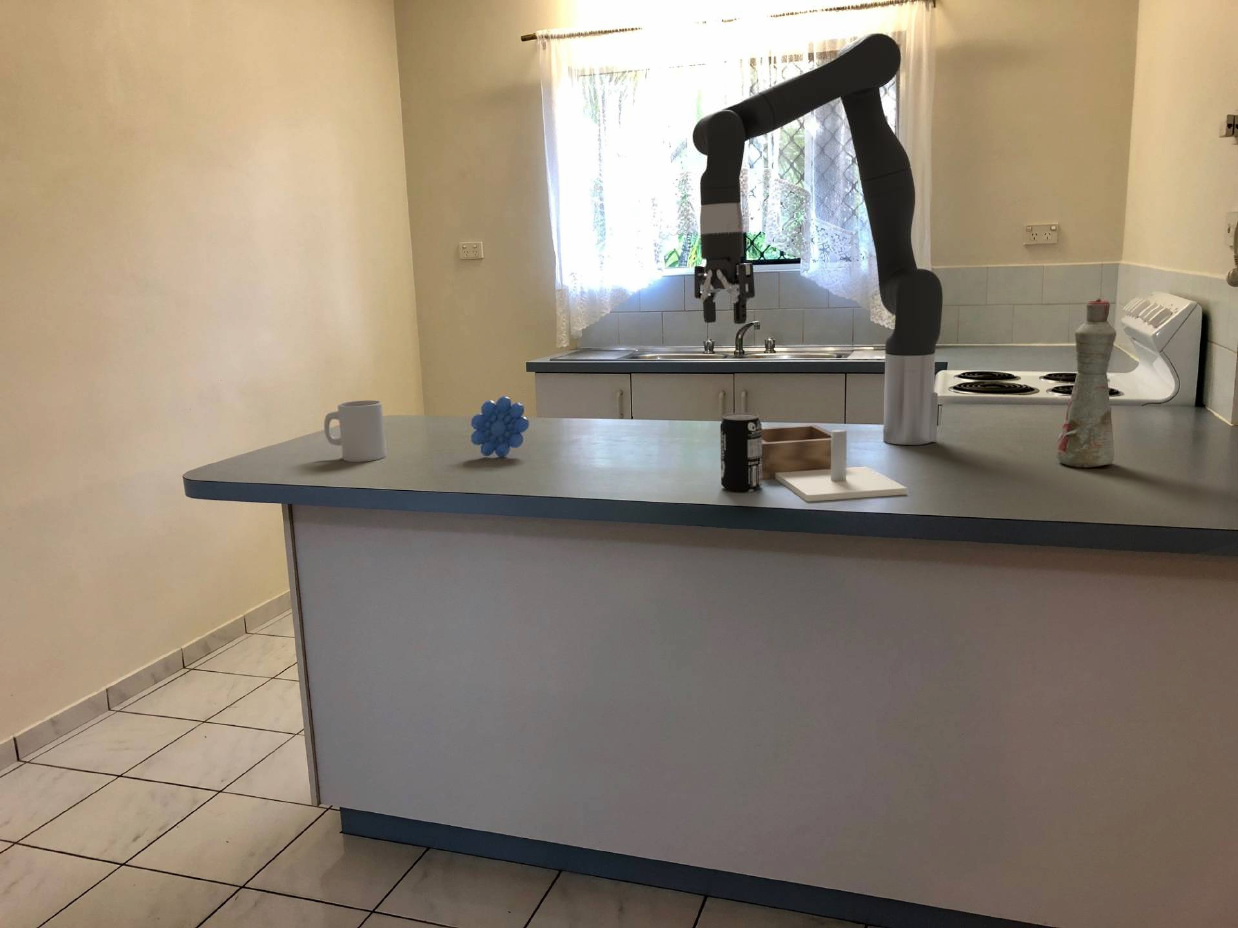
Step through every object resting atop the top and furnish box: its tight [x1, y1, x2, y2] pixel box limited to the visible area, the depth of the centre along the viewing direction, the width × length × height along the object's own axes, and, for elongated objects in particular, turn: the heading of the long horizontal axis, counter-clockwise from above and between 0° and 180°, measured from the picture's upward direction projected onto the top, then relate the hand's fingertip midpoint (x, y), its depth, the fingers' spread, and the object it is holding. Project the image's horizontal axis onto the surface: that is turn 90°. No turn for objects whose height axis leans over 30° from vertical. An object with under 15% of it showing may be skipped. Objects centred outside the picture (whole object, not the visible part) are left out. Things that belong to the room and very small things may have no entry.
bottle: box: [1056, 298, 1117, 468], centre depth 159 cm, size 9×9×28 cm
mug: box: [323, 400, 387, 463], centre depth 190 cm, size 12×8×11 cm
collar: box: [762, 424, 831, 480], centre depth 167 cm, size 14×14×6 cm
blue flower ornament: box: [470, 395, 530, 458], centre depth 186 cm, size 12×7×12 cm, turn 86°
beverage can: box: [719, 412, 763, 493], centre depth 153 cm, size 7×7×12 cm
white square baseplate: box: [774, 429, 908, 502], centre depth 152 cm, size 16×16×9 cm
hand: (724, 323), depth 172 cm, fingers open, 8 cm apart
